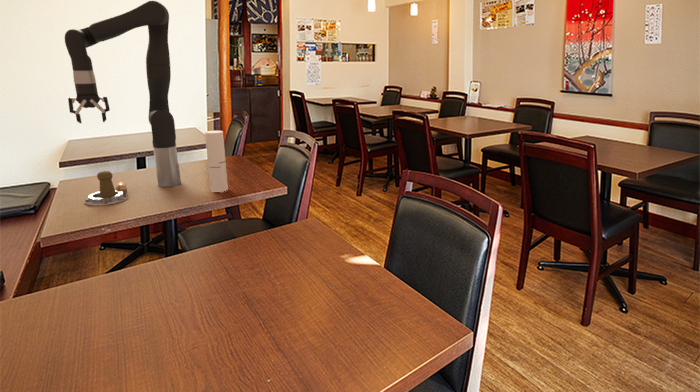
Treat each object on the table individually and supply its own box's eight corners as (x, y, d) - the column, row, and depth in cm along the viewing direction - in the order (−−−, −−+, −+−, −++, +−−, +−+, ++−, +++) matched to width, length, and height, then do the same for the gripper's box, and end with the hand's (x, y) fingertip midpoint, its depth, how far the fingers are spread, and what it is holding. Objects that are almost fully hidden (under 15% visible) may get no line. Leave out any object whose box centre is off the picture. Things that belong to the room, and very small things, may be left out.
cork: (110, 201, 169) (105, 173, 166) (96, 200, 170) (91, 173, 166) (120, 196, 175) (116, 170, 171) (106, 195, 175) (102, 169, 172)
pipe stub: (116, 190, 185) (114, 181, 183) (127, 189, 186) (125, 179, 185) (116, 195, 178) (114, 185, 176) (127, 194, 180) (126, 184, 178)
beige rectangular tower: (231, 190, 186) (226, 131, 178) (216, 193, 181) (210, 133, 173) (222, 186, 190) (217, 129, 183) (207, 190, 185) (201, 131, 178)
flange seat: (127, 192, 182) (126, 187, 181) (128, 202, 169) (127, 197, 168) (86, 197, 175) (84, 191, 174) (83, 208, 162) (82, 202, 162)
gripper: (105, 81, 182) (111, 120, 187) (65, 82, 176) (73, 122, 181) (105, 82, 176) (111, 122, 181) (63, 83, 170) (71, 124, 174)
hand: (92, 122), depth 181 cm, fingers open, 8 cm apart
